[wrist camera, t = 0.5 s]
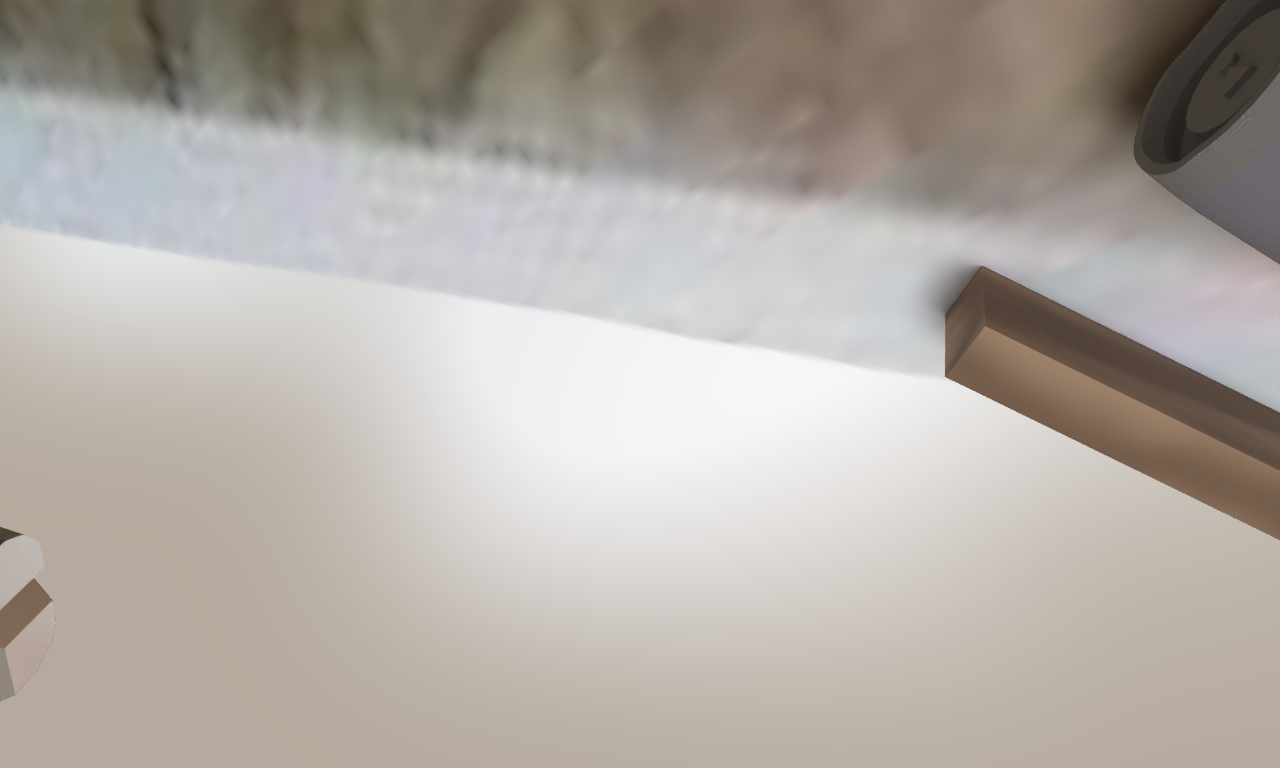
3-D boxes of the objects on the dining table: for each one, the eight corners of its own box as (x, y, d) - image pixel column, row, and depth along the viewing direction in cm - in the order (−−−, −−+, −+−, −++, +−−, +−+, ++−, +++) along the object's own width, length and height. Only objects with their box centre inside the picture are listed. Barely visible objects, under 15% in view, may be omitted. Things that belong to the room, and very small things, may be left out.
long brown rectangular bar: (982, 266, 46) (985, 326, 42) (1443, 494, 47) (1488, 573, 43) (945, 315, 48) (945, 376, 44) (1389, 533, 49) (1428, 612, 45)
